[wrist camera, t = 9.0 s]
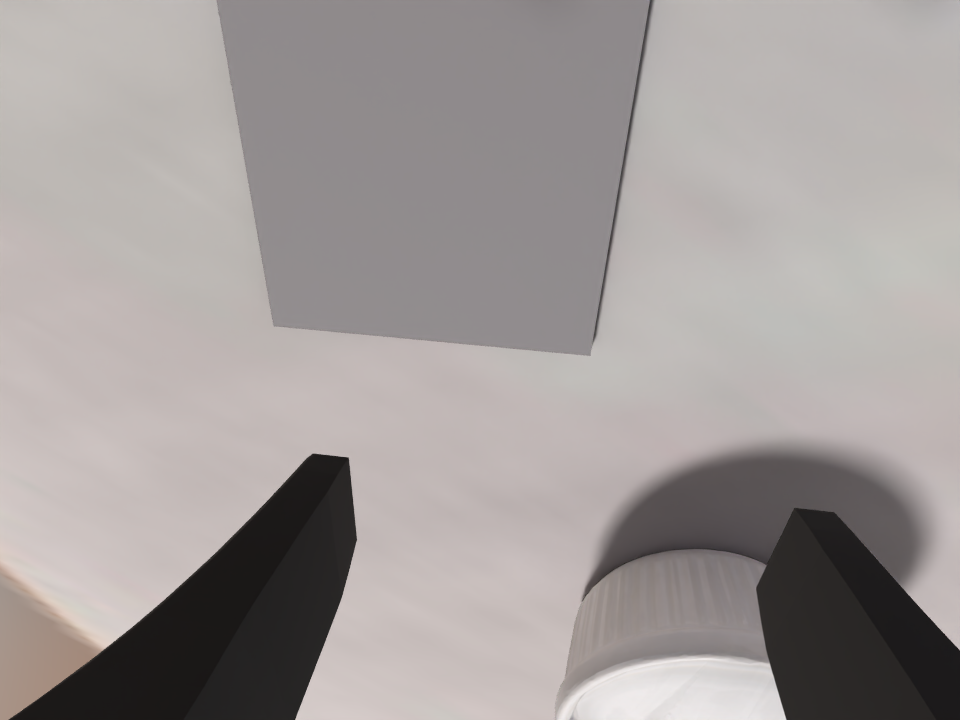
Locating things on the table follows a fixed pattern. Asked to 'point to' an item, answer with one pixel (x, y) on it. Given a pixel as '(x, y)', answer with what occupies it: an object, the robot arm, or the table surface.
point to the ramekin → (671, 643)
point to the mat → (435, 161)
